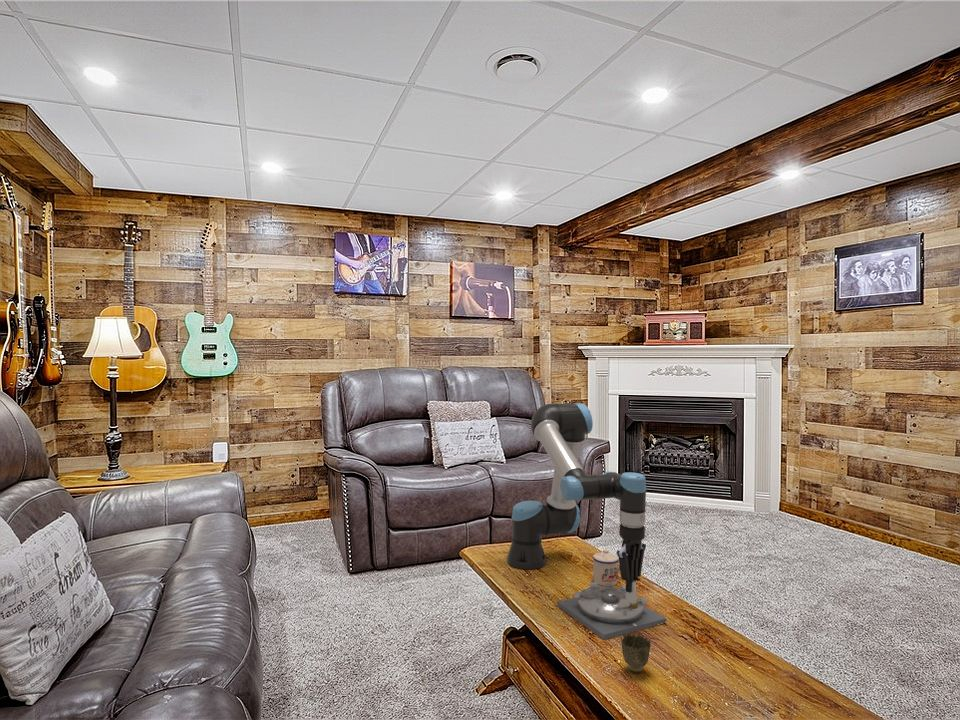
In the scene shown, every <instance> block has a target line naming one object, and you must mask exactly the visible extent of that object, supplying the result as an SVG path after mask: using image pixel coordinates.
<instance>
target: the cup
mask: <svg viewBox="0 0 960 720" xmlns="http://www.w3.org/2000/svg"><path fill="white" fill-rule="evenodd" d="M622 636H623V637H622V638H621V639H620V640H621V651H622V657H623V661H625V664H627V667H628V670H629V671H630V672H632V673H633V674H634V673H635V674H640V673H642V672H643V669H644V668H643V667H645V666H646V665H647V663H648V661H649V657H650V651H651V640H650V639H648V637H647V636H646V637H644V635H641V634H637V635H636V634H635V633H633V634H631V633H628V634H624V635H622Z"/></svg>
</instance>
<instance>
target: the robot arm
mask: <svg viewBox="0 0 960 720" xmlns="http://www.w3.org/2000/svg"><path fill="white" fill-rule="evenodd" d="M592 416H593V415H592V413H591V410H590V409H589V407H588V406H587V405H586V404H584V403H575V402H571V403H546V404H544V405H543V404H542V405H541V406H540V407H538V408H537V410H535V412H534V413H533V415H532V417H531V422H530V429H531V432H532V435H533V437H534V438H535V440H536V441H538V442H540V444H541V445H542V446H543V448H544V450H545V452H546V453H547V455H548V457H549V459H550V461H551V462H552V464H553V466H554V469H553V478H552V486H551V492H550V493H551V494H550V495H548V496H547V498H546V502H545V504H542V502H541V501H540V500H539V501H538V500H524V501H520V502H518V503H516V504H515V505H514V506H513V507H512V514H511V543H510V547H509V550H508V552H507V557H506V558H507V561H506V562H508V563H507V564H508V565H509V566H510V565H511V566H510V567H512V566H513V568H515V569H519V570H537V569H540V568H541V569H542V568H543V567H545V566H546V565H547V563H546V562H547V559H546V554H545V551H544V548H543V544H542V541H543V539H542V537H543V536H550V535H560V534H561V535H566V534H569V533H574V532H575V531H577V529H578V528H579V525H580V523H581V513H580V512H581V511H580V510H581V509H580V508H579V505H578V504H577V502H579V501H587V500H600V499H601V500H602V499H603V500H604V499H616V500H618V501H619V523H620V524H619V531H618V534H619V537H620V538H621V539H622V543H621V549H620V550H617V551H616V556H617V557H618V559H619V562H618V566H619V567H620V572H619V573H620V578H621V580H622V581H625V585H626V601H627V602H630V603H633V604H634V603H636V590H637V582H639V581H640V580H641V576H642V569H643V563H644V555H645V551H646V547H647V545H646V543H643V541H642V540H644V539H645V537H646V527H645V524H646V505H647V504H646V501H647V500H646V499H647V496H646V495H647V483H646V482H647V481H646V476H645V475H644V474H642V473H638V472H633V471H632V472H631V471H628V472H623V473H621V474H620V473H617V472H616V471H615V472H614V471H606V472H603V473H602V474H588V475H587V474H586V472H585V470H584V469H583V468H582V466H581V465H580V463H579V454H580V453H579V452H580V446H581V445H580V444H582V443H583V442H584V441H585V438H586V435H589V434H590V433H591V432H592V430H593V426H594V425H593V417H592Z"/></svg>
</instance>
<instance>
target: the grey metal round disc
mask: <svg viewBox="0 0 960 720" xmlns="http://www.w3.org/2000/svg"><path fill="white" fill-rule="evenodd" d="M588 586H589V587H587V588H585V589H582V590H581V591H577V590H576V591H574V598H578V608H579V610H580V611H581V612H582V613H583V614H584V615H586V616H587V617H589V618H591V619H594V620H597V621H600V622H605V623H612V624H625V623H631V622H634V621H637V620H639V619H640V618H641V617H642V615H643V605H647V604H648V600H647V599H648V598H647V597H643V596H641V597H640V596H639V590H638V589H636V603H634V604H633V603H630V602H627V601H626V584H622V585H620V587H617V586H602V585H599V584H598V583H596V582H594V581H593V582H589V584H588Z"/></svg>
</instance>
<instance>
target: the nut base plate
mask: <svg viewBox="0 0 960 720" xmlns="http://www.w3.org/2000/svg"><path fill="white" fill-rule="evenodd" d="M556 606H557V607H558V608H560V609H561V610H562V611H563V612H565V613H567V614H568V615H569V616H571V617H572V618H573V619H575V621H577V622H579V623H580V624H581V625H583V627H586V628H587V629H588V630H590V631H591V632H592V633H594V634H595V635H596V636H597V637H599V638H601V639H602V640H604V641H605V640H609V639H612V638H617V637H619V636H624V635H627V634H628V633H629V634H631V633H634V631H635V632H638V630H639V631H641V629H643V630H646V629H650V628H653V627H652V626H654V627H656V626H655V625H657V626H659V625H658V624H661V623H665V622H666V623H667V618H666V616H664V615H661V614H660V613H658V612H656V611H655V610H653V609H652V608H649V607H648V606H646V605H645V604H643V615H642V617H641V618H640V619H639V620H637V621H634V622H631V623H625V624H612V623H605V622H600V621H597V620H594V619H591V618H589V617H587V616H586V615H584V614H583V613H582V612H581V611H580V610H579V608H578V598H575V597H572V598H567V599H562V600H558V601H556ZM666 623H665V624H666ZM661 625H662V624H661ZM649 627H650V628H649ZM645 628H646V629H645ZM630 632H631V633H630ZM623 634H624V635H623ZM616 636H617V637H616Z"/></svg>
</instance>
